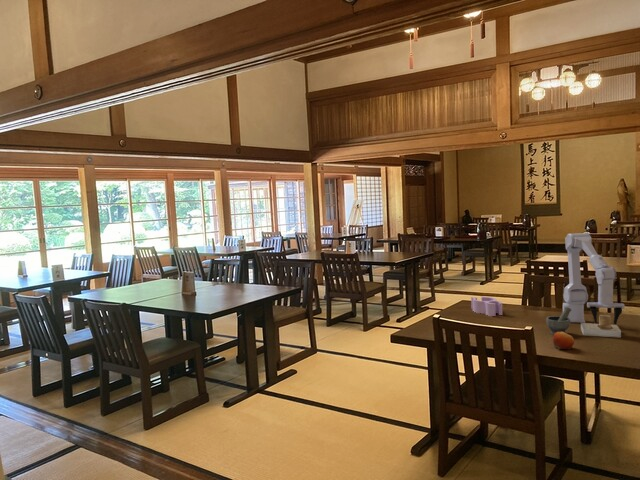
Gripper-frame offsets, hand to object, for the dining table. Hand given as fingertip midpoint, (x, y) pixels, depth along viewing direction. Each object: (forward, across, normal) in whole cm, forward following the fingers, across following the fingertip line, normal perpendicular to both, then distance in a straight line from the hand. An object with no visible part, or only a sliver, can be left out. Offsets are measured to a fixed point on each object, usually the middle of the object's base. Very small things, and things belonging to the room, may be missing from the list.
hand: (605, 323), depth 222 cm
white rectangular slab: (+5, -2, 0) cm, 5 cm away
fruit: (+5, -19, -27) cm, 33 cm away
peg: (+5, 0, 0) cm, 5 cm away
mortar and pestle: (+5, -19, -4) cm, 20 cm away
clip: (+5, -52, +31) cm, 61 cm away
